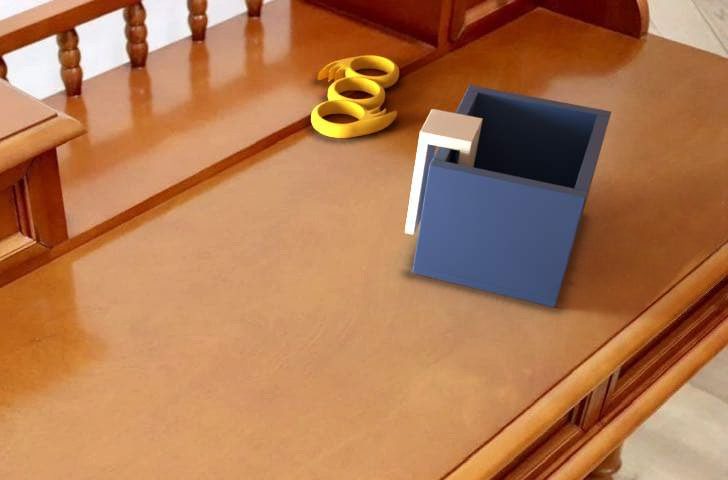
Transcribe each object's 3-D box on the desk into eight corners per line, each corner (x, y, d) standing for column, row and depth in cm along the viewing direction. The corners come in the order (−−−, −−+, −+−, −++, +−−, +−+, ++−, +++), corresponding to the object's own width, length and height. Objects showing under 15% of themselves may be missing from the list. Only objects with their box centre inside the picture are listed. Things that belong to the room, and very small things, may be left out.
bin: (450, 189, 103) (469, 84, 96) (581, 217, 99) (611, 111, 92) (412, 273, 93) (429, 164, 86) (555, 308, 90) (586, 197, 83)
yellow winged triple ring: (423, 75, 119) (335, 58, 122) (424, 61, 118) (336, 45, 121) (378, 150, 108) (283, 129, 111) (380, 136, 107) (284, 116, 110)
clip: (416, 208, 97) (432, 108, 91) (463, 219, 96) (482, 118, 89) (404, 233, 95) (419, 131, 88) (452, 244, 93) (471, 142, 87)
